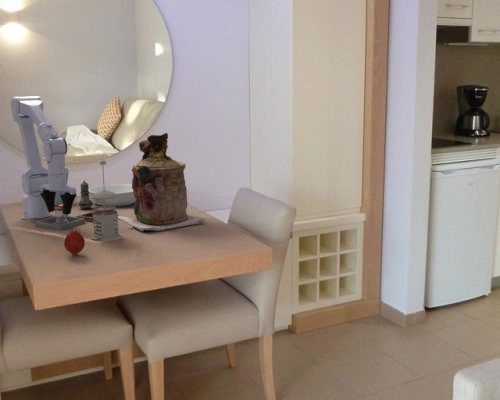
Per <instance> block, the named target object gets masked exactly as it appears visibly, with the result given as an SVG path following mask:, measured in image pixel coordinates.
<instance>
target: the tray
mask: <svg viewBox="0 0 500 400" xmlns="http://www.w3.org/2000/svg"><path fill="white" fill-rule="evenodd" d="M54 222H56V215H54V216H49V217H46V218H42V219H40V220H37V221H34V227H39V228H44V229H50V230H57V231H62V230H66V229H68V228H69V229H70V228H72V227H76V226H79V225H83V224H85V223H86V221H85V218H78V217H75V216H71V215H68V223H65V224H62V225H57V224H56V223H54Z"/></svg>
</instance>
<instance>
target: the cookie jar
mask: <svg viewBox="0 0 500 400" xmlns="http://www.w3.org/2000/svg"><path fill="white" fill-rule="evenodd" d="M168 138H169V134H168V132H164V133H162V134H160V135H159V134H150V135H148V136H147V139H145V140H141V141H140V142H138V146H139V151H140V152H143V155H142V156H141V159H140V160H139V161H138V162H137V163H136V164H135V165H133V166H132V168H131V172H132V180H131V184H132V189H133V193H134V196H135V199H136V201H135V202H134V208H133V213H134V215H135V219H134V218H131V217H126V216H121V215H119V216H118V219H117V220H120V221H123V222H124V223H126V224H128V225H130V226H132V227H133V228H134V229H136V230H139V231H140V232H144V231H157V232H160V231H164V230H168V229H174V228H175V229H176V228H180V227H185V226H192V225H194V226H195V225H199V224H202V225H205V221H206V219H207V218H206V217H202V216H198V215H193V214H191V213H188V212H187V208H188V195H187V194H188V192H187V186H186V179H185V173H184V171H185V169H186V163H185V162H182V161H177V160H175V159H172V157H171V156H169V155H167V150H168V148H169V145H168Z"/></svg>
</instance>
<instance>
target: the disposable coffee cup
mask: <svg viewBox="0 0 500 400" xmlns="http://www.w3.org/2000/svg"><path fill="white" fill-rule="evenodd" d="M45 168H46V167H45ZM65 168H66V184H67V185H68V180H69V179H68V178H69V173H70V170H69V168H68V167H66V166H65ZM46 169H48V167H47V168H46ZM63 194H65V193H60V192H56V195H55V205H56V204H63V202H62V199H61V197H60V195H63Z"/></svg>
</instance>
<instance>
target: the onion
mask: <svg viewBox="0 0 500 400" xmlns="http://www.w3.org/2000/svg"><path fill="white" fill-rule="evenodd" d="M85 241H86V240H85V238H84V236H83V235H82V234H81V233H80V232H78V231H77V230H76V229H75V228H72V229H70V232H68V233H67V235H66V236H65V238H64V240H63V246H64V248H65V250H66V251H67V252H68V253H70V254H72V256H78V254H79V253H81V252H82V251H83V250H84V248H85V245H86V242H85Z"/></svg>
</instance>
